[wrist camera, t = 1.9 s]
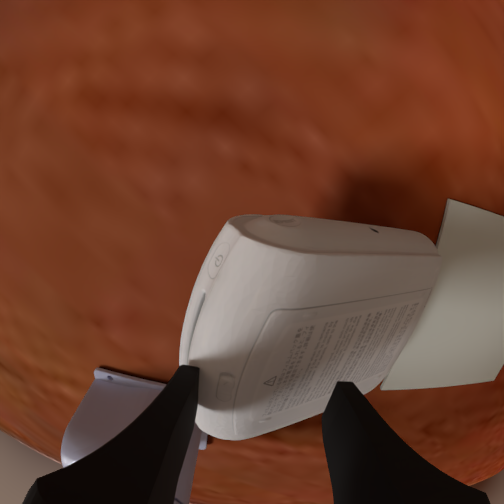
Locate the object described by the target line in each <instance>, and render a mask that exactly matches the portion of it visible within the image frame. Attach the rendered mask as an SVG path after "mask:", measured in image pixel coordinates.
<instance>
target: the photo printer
mask: <svg viewBox="0 0 504 504" xmlns="http://www.w3.org/2000/svg"><path fill="white" fill-rule="evenodd" d="M441 264H442V256H440V255H438V251H437V249H436V247H435V245H434V244H433V242H432V241H431V240H430V239H429V238H428V237H427V236H425V235H423V234H422V233H419V232H416V231H411V230H404V229H398V228H391V227H384V226H376V225H369V224H361V223H354V222H346V221H337V220H329V219H320V218H311V217H302V216H292V215H256V214H252V215H240V216H236V217H232V218H230V219H229V220H228V221H227V222H226V224H225V225H224V227H223V228H222V230H221V232H220V233H219V235H218V236H217V238H216V240H215V241H214V243H213V245H212V247H211V248H210V250H209V253H208V255H207V257H206V259H205V261H204V263H203V265H202V267H201V270H200V272H199V275H198V277H197V280H196V282H195V285H194V288H193V291H192V294H191V297H190V301H189V304H188V308H187V311H186V315H185V320H184V324H183V330H182V335H181V342H180V354H179V366H181V365H189V366H195V367H198V368H200V370H199V389H198V407H197V413H196V418H195V422H196V424H197V425H198V427H199V428H200V429H201V430H202V431H203V432H205V433H207V434H209V435H211V436H213V437H216V438H220V439H225V440H243V439H248V438H252V437H255V436H258V435H262V434H265V433H268V432H271V431H274V430H277V429H280V428H283V427H285V426H288V425H291V424H294V423H296V422H299V421H302V420H305V419H307V418H310V417H312V416H315V415H317V414H320V413H322V412H324V410H325V408H326V406H327V404H328V401H329V399H330V397H331V394H332V392H333V390H334V388H335V385H336V383H337V381H348V382H353V383H354V384H355V385H356V386H357V388H358V389H359V390H360V391H361V393H362V394H363V395H364V394H366V393H368V392H369V391H371V390H372V389H374V388H375V387H376V386H377V385H378V384H379V383H380V382H381V381H382V380H383V379H384V378H385V376H386V375H387V374H388V372H389V371H390V369H391V368H392V366H393V365H394V363H395V362H396V360H397V359H398V357H399V355H400V354H401V352H402V350H403V348H404V347H405V345H406V343H407V341H408V340H409V338H410V336H411V334H412V332H413V330H414V329H415V327H416V325H417V323H418V321H419V319H420V317H421V315H422V313H423V311H424V309H425V306H426V305H427V303H428V301H429V298H430V296H431V293H432V291H433V289H434V286H435V284H436V281H437V278H438V275H439V272H440V268H441Z"/></svg>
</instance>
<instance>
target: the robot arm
mask: <svg viewBox="0 0 504 504" xmlns="http://www.w3.org/2000/svg"><path fill="white" fill-rule="evenodd" d="M199 370H200V368H198V367H195V366H189V365H181V366H179V368H178V369H177V371H176V372H175V374H174V375H173V377H172V378H171V380H170V381H169V382H168V384H163V383H159V382H154V381H150V380H145V379H141V378H137V377H133V376H129V375H125V374H121V373H117V372H113V371H109V370H106V369H102V368H96V369H95V371H94V375H95V380H94V381H93V383H92V385H91V386H90V388H89V390H88V391H87V393H86V395H85V396H84V398H83V400H82V402H81V403H80V405H79V407H78V408H77V410H76V412H75V414H74V415H73V417H72V419H71V421H70V422H69V424H68V426H67V428H66V431H65V434H64V437H63V441H62V447H61V460H62V465H63V468H62V469H60V470H57V471H55V472H52V473H50V474H47V475H45V476H42V477H39V478H37V479H36V481H35V483H34V484H33V485H32V486H31V488H30V489H29V491H28V493H27V495H26V497H25V499H24V502H23V504H189V500H190V494H191V488H192V483H193V477H194V472H195V466H196V461H197V455H198V450H199V449H202V450H203V449H206V446H207V435H208V434H207V433H205V432H203V431H202V430H201V429H200V428H199V427H198V425H197V424H196V422H195V418H196V413H197V407H198V389H199ZM322 433H323V443H324V448H325V453H326V458H327V463H328V468H329V473H330V478H331V483H332V489H333V497H334V504H490V501H489V499H488V497H487V495H486V493H484V492H482V491H480V490H477V489H475V488H472V487H470V486H468V485H465V484H463V483H461V482H459V481H457V480H456V479H454V478H452V477H450V476H448V475H447V474H445V473H443V472H442V471H440V470H439V469H437V468H436V467H435V466H433V465H432V464H430V463H429V462H427V461H426V460H425V459H424V458H422V457H421V456H420V455H419V454H417V453H416V452H415V451H414V450H413V449H412V448H410V447H409V446H408V445H407V444H406V443H405V442H404V441H403V440H402V439H401V438H400V437H399V436H398V435H397V434H396V433H395V432H394V431H393V430H392V429H391V428H390V426H389V425H388V424H387V423H386V422H385V421H384V420H383V419H382V417H381V416H380V415H379V414H378V413H377V411H376V410H375V409H374V408H373V407H372V405H371V404H370V403H369V402H368V400H367V399H366V398H365V396H364V395H363V394H362V393H361V391H360V390H359V389H358V388H357V386H356V385H355V384H354V383H353V382H348V381H337V383H336V385H335V388H334V390H333V392H332V394H331V397H330V399H329V401H328V404H327V406H326V408H325V410H324V412H323V415H322Z"/></svg>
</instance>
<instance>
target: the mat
mask: <svg viewBox="0 0 504 504" xmlns="http://www.w3.org/2000/svg"><path fill="white" fill-rule="evenodd" d="M436 249H437V251H438V255H440V256H442V264H441V268H440V272H439V275H438V278H437V281H436V284H435V286H434V289H433V291H432V293H431V296H430V298H429V301H428V303H427V305H426V306H425V309H424V311H423V313H422V315H421V317H420V319H419V321H418V323H417V325H416V327H415V329H414V330H413V332H412V334H411V336H410V338H409V340H408V341H407V343H406V345H405V347H404V348H403V350H402V352H401V354H400V355H399V357H398V359H397V360H396V362H395V363H394V365H393V366H392V368H391V369H390V371H389V372H388V374H387V375H386V376H385V378H384V380H383V382H382V384H381V386H380V389H381V390H403V389H421V388H435V387H447V386H456V385H465V384H473V383H481V382H488V381H494V380H495V378H496V376H497V375H498V373H499V371H500V369H501V368H502V366H503V364H504V217H503V216H501V215H498V214H495V213H492V212H489V211H486V210H483V209H480V208H477V207H474V206H471V205H468V204H465V203H461V202H458V201H455V200H452V199H448V200H447V204H446V208H445V213H444V217H443V221H442V225H441V229H440V232H439V236H438V240H437V243H436Z"/></svg>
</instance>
